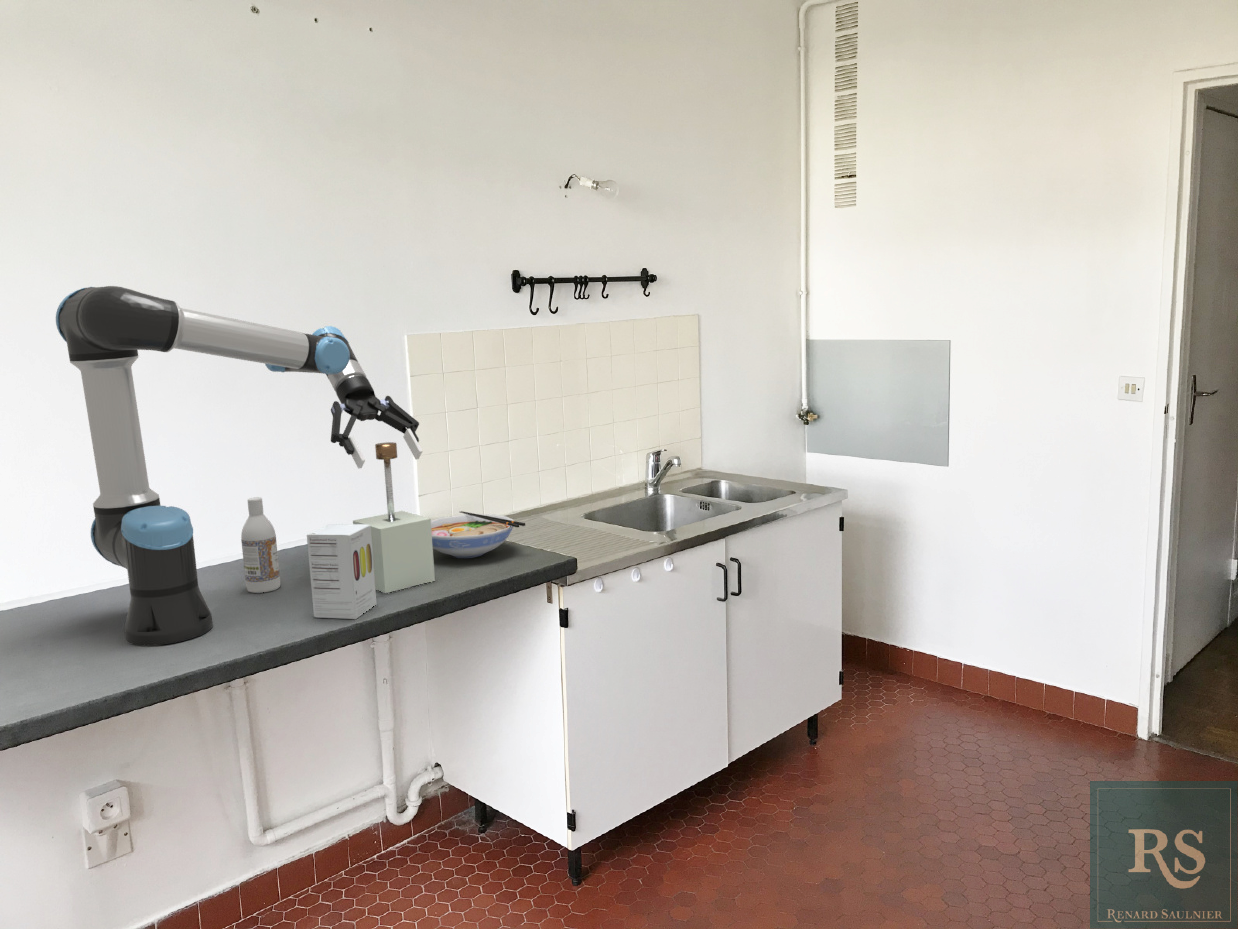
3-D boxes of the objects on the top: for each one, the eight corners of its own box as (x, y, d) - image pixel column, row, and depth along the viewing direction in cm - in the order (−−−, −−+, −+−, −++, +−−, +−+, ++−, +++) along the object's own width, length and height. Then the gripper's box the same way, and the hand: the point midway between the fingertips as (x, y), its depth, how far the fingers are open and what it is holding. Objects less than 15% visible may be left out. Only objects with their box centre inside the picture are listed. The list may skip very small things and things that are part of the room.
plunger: (383, 537, 203) (376, 448, 199) (362, 530, 209) (355, 444, 206) (422, 528, 209) (416, 443, 205) (400, 522, 215) (394, 439, 212)
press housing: (385, 594, 203) (380, 529, 200) (358, 583, 212) (352, 520, 209) (434, 581, 211) (430, 518, 208) (406, 571, 219) (402, 510, 217)
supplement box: (356, 620, 187) (349, 535, 184) (312, 618, 189) (304, 534, 186) (378, 604, 196) (371, 523, 193) (336, 603, 198) (329, 522, 195)
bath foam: (275, 593, 206) (265, 501, 203) (242, 594, 206) (232, 502, 203) (284, 583, 213) (276, 494, 210) (253, 584, 213) (243, 495, 210)
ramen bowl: (399, 555, 234) (397, 522, 232) (478, 537, 249) (477, 505, 247) (456, 575, 215) (454, 539, 214) (538, 554, 230) (536, 520, 229)
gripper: (396, 391, 224) (435, 462, 216) (293, 402, 208) (331, 479, 199) (406, 369, 219) (447, 441, 211) (301, 378, 203) (341, 456, 195)
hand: (391, 459), depth 205 cm, fingers open, 13 cm apart
